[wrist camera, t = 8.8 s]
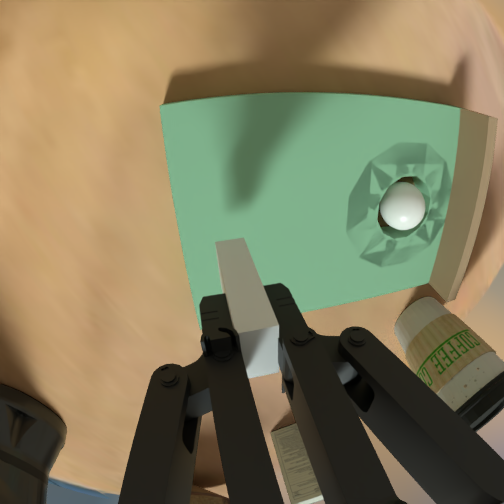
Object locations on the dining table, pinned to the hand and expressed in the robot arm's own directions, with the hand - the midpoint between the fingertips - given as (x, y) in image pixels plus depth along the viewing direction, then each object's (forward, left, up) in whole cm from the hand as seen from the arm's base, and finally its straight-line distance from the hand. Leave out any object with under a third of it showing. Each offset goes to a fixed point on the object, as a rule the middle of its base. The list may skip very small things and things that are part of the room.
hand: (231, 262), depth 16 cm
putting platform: (+8, 0, -5) cm, 10 cm away
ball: (+13, 0, -4) cm, 13 cm away
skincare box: (+6, -34, -6) cm, 35 cm away
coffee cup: (+20, -15, -6) cm, 26 cm away
